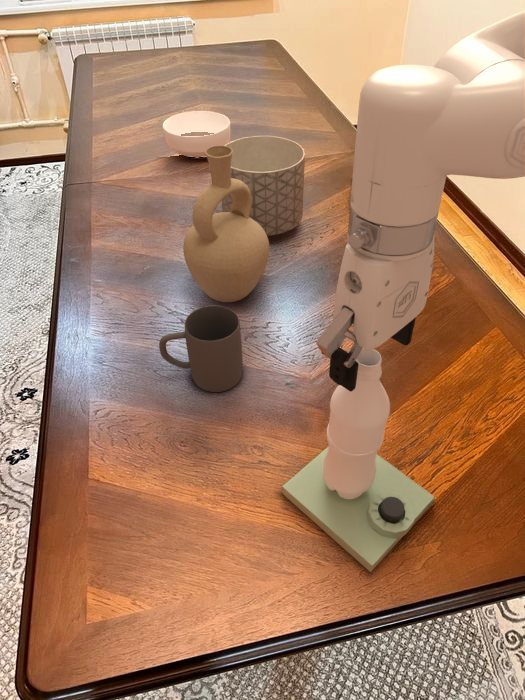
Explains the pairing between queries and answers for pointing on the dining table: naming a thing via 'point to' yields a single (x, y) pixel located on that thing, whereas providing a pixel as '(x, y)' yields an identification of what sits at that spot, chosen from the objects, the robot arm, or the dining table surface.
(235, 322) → the mug
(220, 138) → the bowl
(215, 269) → the vase
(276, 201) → the planter
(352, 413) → the water bottle
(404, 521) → the scale
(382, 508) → the button
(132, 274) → the dining table surface
